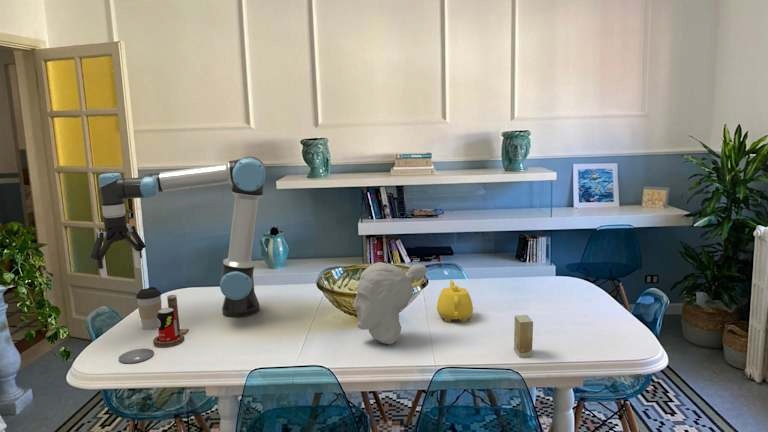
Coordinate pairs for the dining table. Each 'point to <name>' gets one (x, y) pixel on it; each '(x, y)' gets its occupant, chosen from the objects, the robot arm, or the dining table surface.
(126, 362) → the slate coaster
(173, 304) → the ring holder
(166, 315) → the beverage can
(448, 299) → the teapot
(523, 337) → the skincare box
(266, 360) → the dining table surface
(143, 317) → the coffee cup
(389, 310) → the bust
